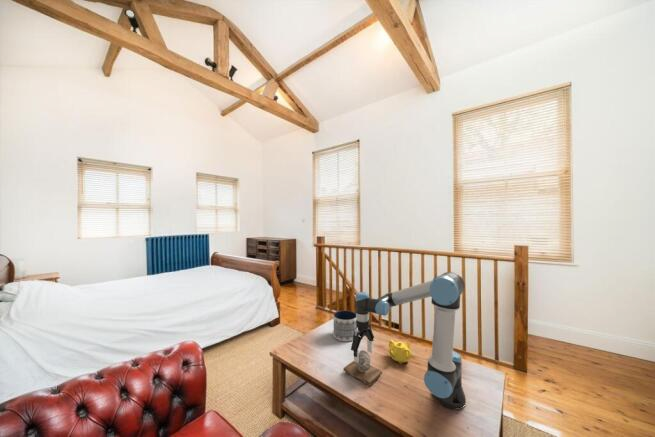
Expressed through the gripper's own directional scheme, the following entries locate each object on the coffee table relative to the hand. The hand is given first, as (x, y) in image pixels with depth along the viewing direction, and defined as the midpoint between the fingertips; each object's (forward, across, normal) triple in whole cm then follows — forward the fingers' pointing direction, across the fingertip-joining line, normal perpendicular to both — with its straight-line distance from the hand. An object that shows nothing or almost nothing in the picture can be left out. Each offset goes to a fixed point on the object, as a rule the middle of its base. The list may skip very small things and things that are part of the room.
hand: (363, 356), depth 138 cm
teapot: (+11, -29, +8) cm, 32 cm away
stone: (+8, 0, 0) cm, 8 cm away
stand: (+11, 0, -1) cm, 11 cm away
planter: (+10, -29, -37) cm, 48 cm away
